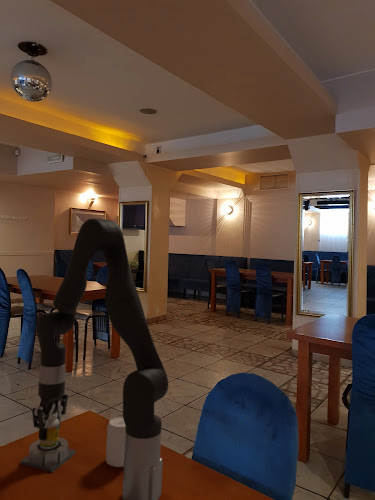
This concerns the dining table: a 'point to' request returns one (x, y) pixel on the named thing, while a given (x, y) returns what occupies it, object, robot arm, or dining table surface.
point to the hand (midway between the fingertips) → (49, 435)
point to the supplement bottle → (51, 433)
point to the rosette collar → (48, 456)
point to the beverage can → (116, 442)
